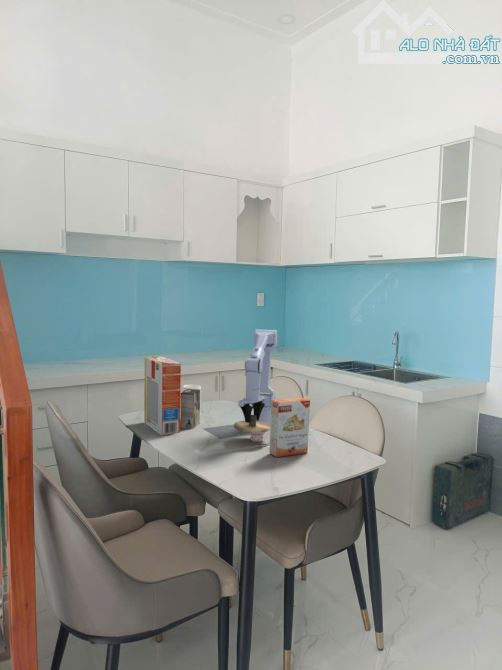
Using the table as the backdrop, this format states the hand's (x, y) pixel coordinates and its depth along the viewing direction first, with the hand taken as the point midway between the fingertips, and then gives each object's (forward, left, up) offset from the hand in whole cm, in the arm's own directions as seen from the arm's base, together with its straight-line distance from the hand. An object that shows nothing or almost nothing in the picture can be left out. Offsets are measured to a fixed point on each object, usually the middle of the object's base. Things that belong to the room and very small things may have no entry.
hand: (252, 421), depth 207 cm
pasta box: (+25, -36, -9) cm, 44 cm away
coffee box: (+13, -32, -9) cm, 36 cm away
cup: (+8, -42, -9) cm, 44 cm away
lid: (0, 0, -3) cm, 3 cm away
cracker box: (-6, +18, -9) cm, 21 cm away
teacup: (-2, 0, -9) cm, 9 cm away
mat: (+2, -17, -9) cm, 19 cm away
